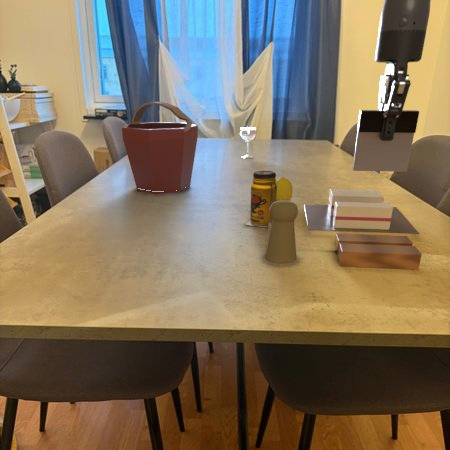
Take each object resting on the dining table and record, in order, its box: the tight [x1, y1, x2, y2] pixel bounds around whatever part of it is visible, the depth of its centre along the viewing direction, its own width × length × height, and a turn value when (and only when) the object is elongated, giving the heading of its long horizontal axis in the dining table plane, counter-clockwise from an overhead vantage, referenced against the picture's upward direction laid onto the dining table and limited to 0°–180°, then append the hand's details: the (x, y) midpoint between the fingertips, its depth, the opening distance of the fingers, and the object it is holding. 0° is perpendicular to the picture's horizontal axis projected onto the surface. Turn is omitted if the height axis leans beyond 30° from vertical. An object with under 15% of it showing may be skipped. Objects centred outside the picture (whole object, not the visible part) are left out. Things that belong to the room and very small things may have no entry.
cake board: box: [303, 204, 420, 235], centre depth 105 cm, size 24×22×1 cm
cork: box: [264, 200, 299, 265], centre depth 82 cm, size 6×6×11 cm
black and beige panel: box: [352, 109, 420, 173], centre depth 80 cm, size 10×2×11 cm, turn 83°
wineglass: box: [239, 126, 257, 159], centre depth 188 cm, size 7×7×12 cm
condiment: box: [244, 170, 277, 228], centre depth 102 cm, size 7×8×12 cm
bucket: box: [121, 101, 199, 195], centre depth 132 cm, size 24×22×25 cm
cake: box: [327, 188, 385, 216], centre depth 107 cm, size 12×7×5 cm, turn 83°
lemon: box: [276, 176, 294, 201], centre depth 116 cm, size 6×6×8 cm
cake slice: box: [333, 202, 394, 230], centre depth 98 cm, size 12×4×5 cm, turn 83°
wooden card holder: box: [334, 233, 422, 271], centre depth 83 cm, size 14×10×3 cm
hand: (384, 139), depth 80 cm, fingers closed on black and beige panel, 2 cm apart
